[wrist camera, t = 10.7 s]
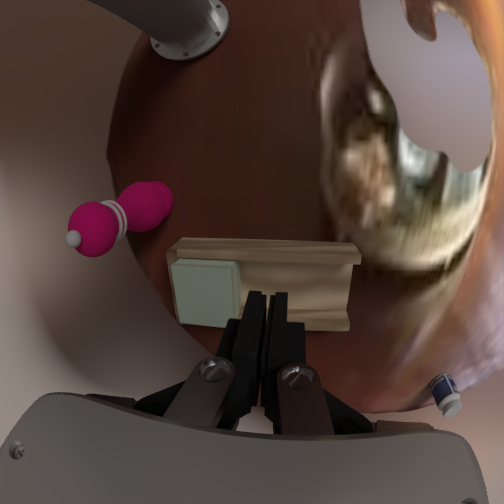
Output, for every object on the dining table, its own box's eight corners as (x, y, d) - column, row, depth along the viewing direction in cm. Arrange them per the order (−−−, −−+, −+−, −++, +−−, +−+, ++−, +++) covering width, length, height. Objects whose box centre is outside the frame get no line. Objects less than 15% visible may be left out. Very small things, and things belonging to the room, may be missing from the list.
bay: (182, 237, 42) (165, 251, 36) (353, 242, 38) (363, 258, 33) (190, 303, 46) (177, 324, 40) (343, 312, 43) (349, 334, 37)
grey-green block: (187, 249, 41) (170, 265, 35) (240, 251, 40) (231, 268, 34) (193, 301, 44) (180, 322, 38) (242, 305, 43) (234, 328, 37)
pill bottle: (426, 391, 47) (438, 422, 38) (432, 375, 45) (446, 407, 36) (446, 385, 46) (459, 415, 37) (452, 369, 44) (468, 399, 35)
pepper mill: (173, 227, 42) (95, 285, 23) (135, 217, 42) (48, 264, 23) (180, 182, 39) (94, 213, 20) (140, 174, 39) (45, 199, 21)
